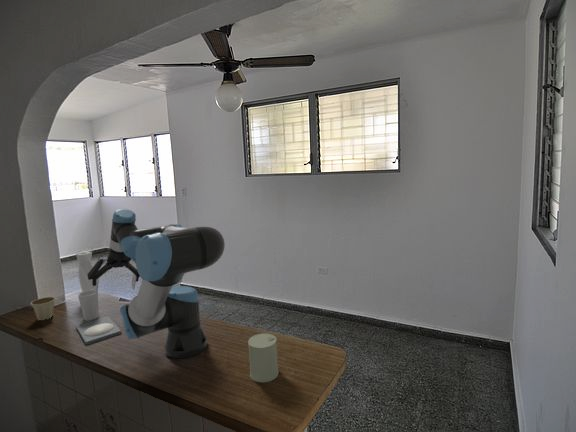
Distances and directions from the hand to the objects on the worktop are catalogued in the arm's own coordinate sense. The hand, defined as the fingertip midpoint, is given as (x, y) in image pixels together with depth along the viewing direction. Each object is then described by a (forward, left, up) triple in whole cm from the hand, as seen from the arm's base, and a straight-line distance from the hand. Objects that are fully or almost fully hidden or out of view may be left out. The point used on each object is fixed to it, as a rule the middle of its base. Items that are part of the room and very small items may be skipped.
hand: (115, 288), depth 140 cm
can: (-65, -26, -20) cm, 73 cm away
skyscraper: (+54, 0, -20) cm, 57 cm away
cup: (+28, +5, -20) cm, 35 cm away
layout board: (+10, +6, -19) cm, 23 cm away
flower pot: (+44, +21, -20) cm, 53 cm away
